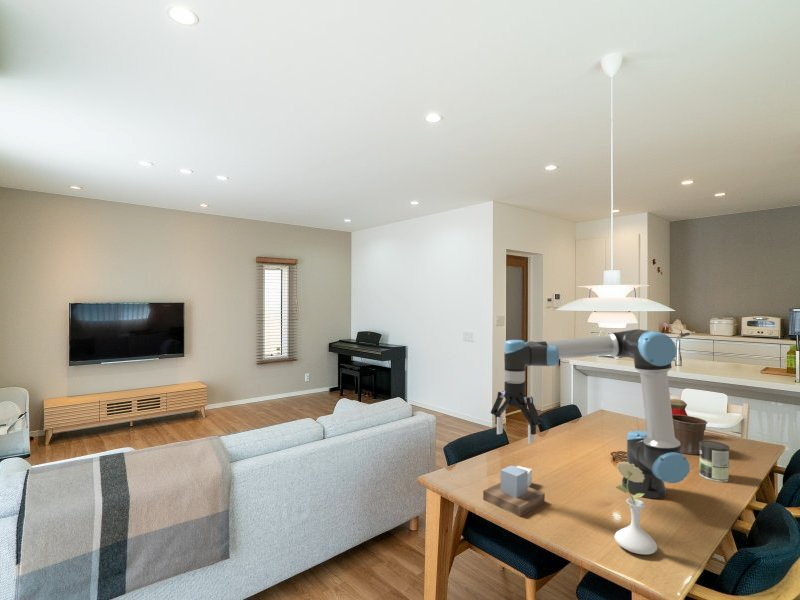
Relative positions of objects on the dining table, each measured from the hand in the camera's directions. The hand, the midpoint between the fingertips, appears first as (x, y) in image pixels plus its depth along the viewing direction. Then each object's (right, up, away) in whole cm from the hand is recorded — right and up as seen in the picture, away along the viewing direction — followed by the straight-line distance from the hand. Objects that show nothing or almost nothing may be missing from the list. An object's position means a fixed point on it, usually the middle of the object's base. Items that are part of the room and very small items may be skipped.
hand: (514, 438), depth 155 cm
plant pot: (+102, -25, +54) cm, 118 cm away
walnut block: (0, -24, 0) cm, 24 cm away
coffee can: (+92, -25, +23) cm, 98 cm away
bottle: (+112, -25, +77) cm, 139 cm away
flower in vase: (+29, -24, -28) cm, 47 cm away
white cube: (+7, -24, +14) cm, 29 cm away
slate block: (0, -20, 0) cm, 20 cm away
